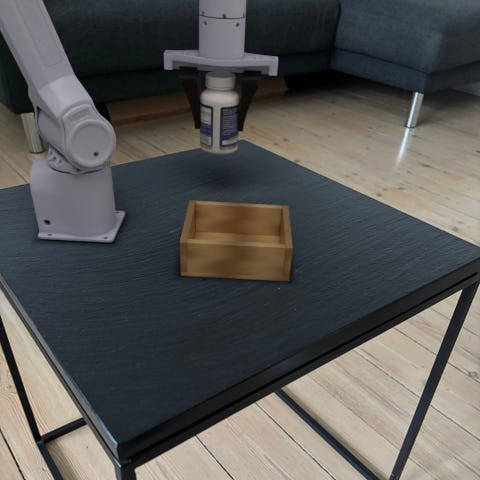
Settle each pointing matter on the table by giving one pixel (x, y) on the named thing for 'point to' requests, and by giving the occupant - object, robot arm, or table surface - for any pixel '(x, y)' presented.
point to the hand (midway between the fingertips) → (219, 127)
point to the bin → (236, 241)
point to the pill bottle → (219, 114)
